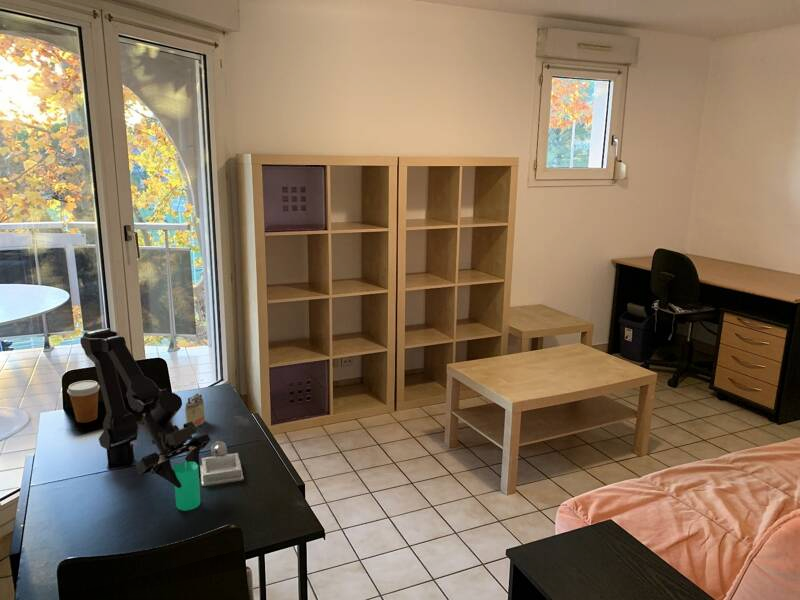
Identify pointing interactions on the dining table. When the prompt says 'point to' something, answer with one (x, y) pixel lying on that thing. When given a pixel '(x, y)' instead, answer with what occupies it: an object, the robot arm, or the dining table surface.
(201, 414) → the lighter
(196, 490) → the candle
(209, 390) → the dining table surface
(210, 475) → the white tray
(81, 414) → the disposable coffee cup
